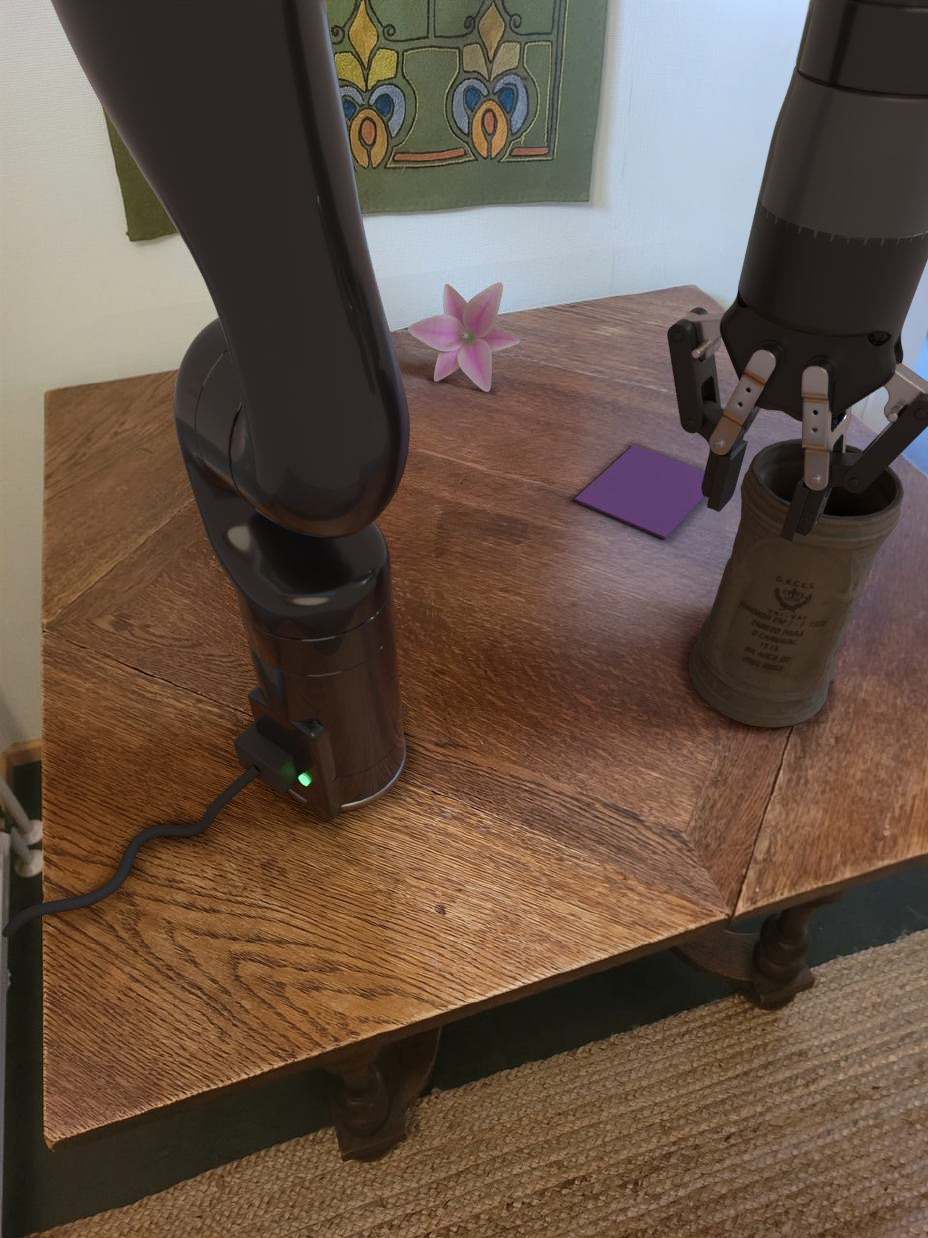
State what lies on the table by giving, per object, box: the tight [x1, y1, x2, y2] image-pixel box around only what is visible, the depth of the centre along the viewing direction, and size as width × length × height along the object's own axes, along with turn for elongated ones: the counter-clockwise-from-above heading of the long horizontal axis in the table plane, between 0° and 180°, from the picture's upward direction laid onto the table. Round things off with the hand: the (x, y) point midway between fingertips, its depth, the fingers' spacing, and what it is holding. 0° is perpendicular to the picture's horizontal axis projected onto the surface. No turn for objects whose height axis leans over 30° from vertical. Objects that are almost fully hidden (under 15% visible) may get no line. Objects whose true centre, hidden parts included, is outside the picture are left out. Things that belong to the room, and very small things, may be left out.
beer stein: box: [688, 437, 905, 728], centre depth 65 cm, size 15×11×20 cm
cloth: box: [574, 444, 705, 540], centre depth 88 cm, size 12×10×1 cm
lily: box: [407, 282, 521, 393], centre depth 103 cm, size 12×12×10 cm
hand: (756, 516), depth 49 cm, fingers open, 3 cm apart
